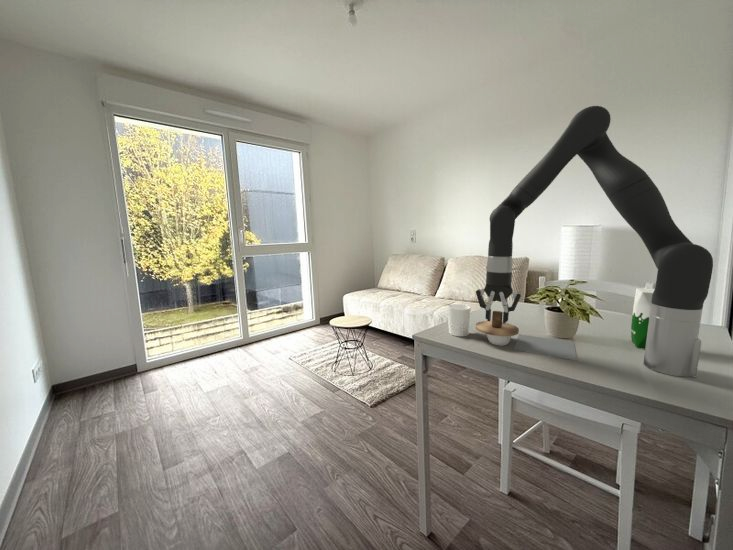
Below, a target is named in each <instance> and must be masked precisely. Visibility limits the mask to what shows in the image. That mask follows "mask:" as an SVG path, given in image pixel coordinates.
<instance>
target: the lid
mask: <svg viewBox="0 0 733 550" xmlns="http://www.w3.org/2000/svg"><path fill="white" fill-rule="evenodd" d="M503 312H504V311H501V310H493V311H492V313H491V320H490V321H487V320H486V321H485V320H483V321H479V322H477V323H476V324H475V330H476V331H479V333H480V332H481V333H483V334H485V335H486V334H489V335H495V336H511V337H513V336H517V335H519V334H520V332H519V330H520V329H519V327H518V326H516V325H514V324H512V323H511V324H510V323H508V322H506V323H503Z"/></svg>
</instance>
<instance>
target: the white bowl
mask: <svg viewBox="0 0 733 550" xmlns="http://www.w3.org/2000/svg"><path fill="white" fill-rule="evenodd" d="M485 336H486V337H487V339H488V341H489V343H490V344H492V345H495V346H507V345H508V344H509V343H510V341H511V339H512V338H511V337H512V336H495V335H489V334H485Z"/></svg>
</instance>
